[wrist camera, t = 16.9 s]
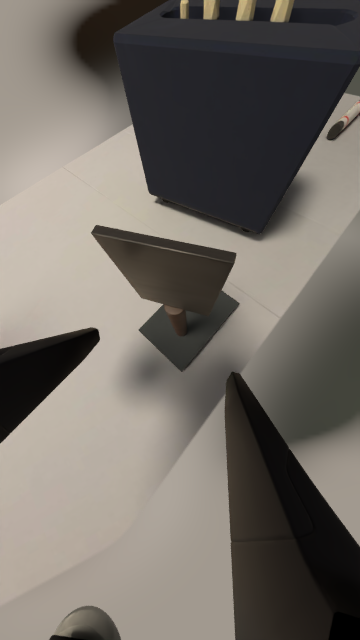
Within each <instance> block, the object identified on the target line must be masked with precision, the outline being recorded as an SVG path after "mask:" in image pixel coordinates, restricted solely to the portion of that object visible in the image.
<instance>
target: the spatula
mask: <svg viewBox="0 0 360 640" xmlns="http://www.w3.org/2000/svg"><path fill="white" fill-rule="evenodd" d="M91 234H92V235H93V236H94V238H95V239H96V240H97V242H98V243H99V244H100V245H101V247H102V248H103V249H104V251H105V252H106V253H107V254H108V256H109V257H110V258H111V260H112V261H113V262H114V263H115V265H116V266H117V267H118V269H119V270H120V271H121V272H122V274H123V275H124V276H125V278H126V279H127V280H128V281H129V283H130V284H131V285H132V287H133V288H134V289H135V290H136V292H137V293H138V294H139V295H140V297H141V298H143V299H147V300H150V301H154V302H158V303H161V304H164V309H165V311H166V313H167V315H168V317H169V319H170V321H171V324H172V326H173V328H174V330H175V332H176V334H177V335H178V336H181V337H182V336H185V335H186V333H187V320H186V310H187V311H190V312H194V313H198V314H201V315H205V316H209V315H210V313H211V311H212V309H213V306H214V304H215V302H216V300H217V298H218V296H219V294H220V292H221V290H222V288H223V286H224V284H225V282H226V280H227V277H228V275H229V273H230V271H231V269H232V267H233V265H234V263H235V259H236V253H234V252H229V251H224V250H219V249H214V248H209V247H204V246H199V245H194V244H189V243H184V242H179V241H174V240H169V239H164V238H159V237H154V236H149V235H144V234H139V233H134V232H129V231H124V230H119V229H114V228H109V227H104V226H99V225H96V226H95V227H94V229H93V231H92V232H91Z"/></svg>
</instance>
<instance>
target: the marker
mask: <svg viewBox="0 0 360 640" xmlns="http://www.w3.org/2000/svg"><path fill="white" fill-rule="evenodd" d="M359 113H360V100H359V101H358V102H357V103H356V104H355V105H354V106H353V107H352V108H351V109H350V110H349V111H348V112H347V113H346V114H345V115H344V116H343V117H342V118H341V119H340V120H339V121H337V122H336V123H335V125H334V126H333V127H332V128H331V129H330V130H329V132H328V134H327V138H328V139H333V138H335V137H336V136H337V135H338V134H339V133H340V132H341V131H342V130H343V129H344V128H345V127H346V126H347V125H348V124H349V123H350V122H351V121H352V120H353V119H354V118H355V117H356V116H357V115H358V114H359Z"/></svg>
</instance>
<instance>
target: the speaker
mask: <svg viewBox="0 0 360 640" xmlns="http://www.w3.org/2000/svg"><path fill="white" fill-rule="evenodd" d="M113 41H114V45H115V50H116V54H117V58H118V63H119V67H120V71H121V75H122V80H123V84H124V88H125V92H126V97H127V101H128V105H129V109H130V114H131V118H132V122H133V127H134V131H135V135H136V139H137V144H138V148H139V152H140V156H141V161H142V165H143V169H144V173H145V178H146V182H147V186H148V190H149V193H150V194H151V195H154V196H157V197H160V198H162V199H163V201H165V202H167V203H168V202H170V201H171V202H173V203H176V204H179V205H181V206H184V207H187V208H190V209H192V210H195V211H198V212H201V213H203V214H206V215H209V216H211V217H214V218H217V219H220V220H222V221H225V222H228V223H231V224H233V225H236V226H239V227H241V228H242V230H243V231H245V232H249V231H252V232H255V233H258V234H260V233H262V232H263V230H264V229H265V227H266V225H267V224H268V222H269V220H270V218H271V217H272V215H273V213H274V212H275V210H276V208H277V206H278V205H279V203H280V201H281V200H282V198H283V196H284V195H285V193H286V191H287V189H288V188H289V186H290V184H291V183H292V181H293V179H294V177H295V176H296V174H297V172H298V171H299V169H300V167H301V166H302V164H303V162H304V160H305V159H306V157H307V155H308V154H309V152H310V150H311V148H312V147H313V145H314V143H315V142H316V140H317V138H318V137H319V135H320V133H321V131H322V130H323V128H324V126H325V125H326V123H327V121H328V119H329V118H330V116H331V114H332V113H333V111H334V109H335V107H336V106H337V104H338V102H339V101H340V99H341V97H342V96H343V94H344V92H345V90H346V89H347V87H348V85H349V84H350V82H351V80H352V78H353V77H354V75H355V73H356V72H357V70H358V68H359V67H360V0H169V1H167V2H166V3H164V4H162V5H161V6H159V7H157V8H156V9H154V10H152V11H151V12H149V13H147V14H146V15H144V16H142V17H140V18H139V19H137V20H136V21H134V22H132V23H130V24H129V25H127V26H125V27H124V28H122V29H120V30H119V31H117V32H116V33H115V34H114V39H113Z"/></svg>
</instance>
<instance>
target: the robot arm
mask: <svg viewBox="0 0 360 640" xmlns="http://www.w3.org/2000/svg"><path fill="white" fill-rule="evenodd" d="M99 340H100V337H99V331H98V329H96V328H87V329H82V330H78V331H74V332H70V333H66V334H61V335H57V336H53V337H49V338H45V339H40V340H36V341H32V342H28V343H23V344H19V345H15V346H11V347H6V348H2V349H0V443H1V442H2V441H3V440H4V439H5V438H6V437H7V436H8V435H9V434H10V433H11V432H12V431H13V430H14V429H15V428H16V427H17V426H18V425H19V424H20V423H21V422H22V421H23V420H24V419H25V418H26V417H27V416H28V415H29V414H30V413H31V412H32V411H33V410H34V409H35V408H36V407H37V406H38V405H39V404H40V403H41V402H42V401H43V400H44V399H45V398H46V397H47V396H48V395H49V394H50V393H51V392H52V391H53V390H54V389H55V388H56V387H57V386H58V385H59V384H60V383H61V382H62V381H63V380H64V379H65V378H66V377H67V376H68V375H69V374H70V373H71V372H72V371H73V370H74V369H75V368H76V367H77V366H78V365H79V364H80V363H81V362H82V361H83V360H84V359H85V358H86V357H87V355H88V354H89V353H90V352H91V351H92V349H93V348H94V347H95V346H96V345H97V343H98V342H99ZM225 428H226V429H225V430H226V449H227V470H228V490H229V512H230V533H231V557H232V577H233V599H234V619H235V639H236V640H360V546H359V545H358V544H357V542H356V541H355V540H354V538H353V537H352V536H351V534H350V533H349V532H348V530H347V529H346V527H345V526H344V525H343V523H342V522H341V521H340V519H339V518H338V517H337V515H336V514H335V513H334V511H333V510H332V508H331V507H330V506H329V505H328V503H327V502H326V500H325V499H324V497H323V496H322V495H321V493H320V492H319V490H318V489H317V488H316V486H315V485H314V484H313V482H312V481H311V479H310V478H309V476H308V475H307V473H306V472H305V471H304V469H303V468H302V466H301V465H300V463H299V462H298V460H297V459H296V458H295V456H294V454H293V453H292V451H291V450H290V449H289V447H288V445H287V444H286V443H285V441H284V439H283V438H282V437H281V435H280V434H279V432H278V431H277V429H276V427H275V426H274V425H273V423H272V421H271V420H270V418H269V417H268V415H267V414H266V413H265V411H264V409H263V408H262V407H261V405H260V403H259V402H258V400H257V399H256V397H255V396H254V395H253V393H252V391H251V390H250V389H249V387H248V386H247V384H246V382H245V381H244V379H243V378H242V376H241V375H240V374H239V373H236V372H231V374H230V376H229V378H228V379H227V382H226V396H225ZM49 640H84V639H78V638H72V637H66V636H59V635H52V636H51V637H50V639H49Z"/></svg>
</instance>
